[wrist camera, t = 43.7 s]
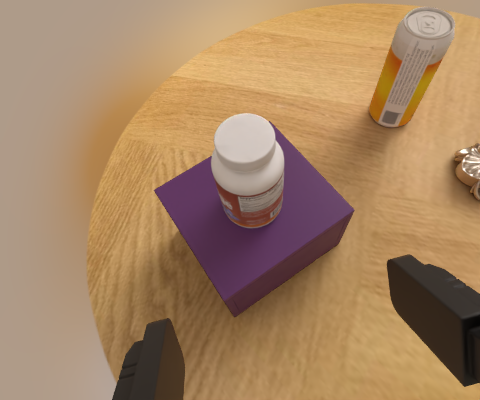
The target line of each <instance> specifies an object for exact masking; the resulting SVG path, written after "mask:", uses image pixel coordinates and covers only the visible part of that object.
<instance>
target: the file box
mask: <svg viewBox="0 0 480 400" xmlns="http://www.w3.org/2000/svg"><path fill="white" fill-rule="evenodd" d="M352 215H353V214H351V215H350V216H349V217H347V218H346V219H344V220H343V221H341V222H340V223H339V224H337V225H336V226H334V227H333V228H331V229H330V230H328V231H327V232H326V233H324V234H323V235H321V236H320V237H318V238H317V239H316V240H314V241H313V242H311V243H310V244H308V245H307V246H305V247H304V248H303V249H301V250H300V251H298V252H297V253H295V254H294V255H293V256H291V257H290V258H288V259H287V260H285V261H284V262H283V263H281V264H280V265H278V266H277V267H275V268H274V269H272V270H271V271H270V272H268V273H267V274H265V275H264V276H262V277H261V278H260V279H258V280H257V281H255V282H254V283H252V284H251V285H249V286H248V287H247V288H245V289H244V290H242V291H241V292H239V293H238V294H237V295H235V296H234V297H232V298H231V299H229V300H228V301H226V302H225V304H226V305H227V307H228V308H229V310H230V311H231V313H232V314H233V316H234V317H236V316H237V315H239V314H240V313H242V312H243V311H244V310H246V309H247V308H249V307H250V306H251V305H253V304H254V303H256V302H257V301H259V300H260V299H261V298H263V297H264V296H266V295H267V294H268V293H270V292H271V291H273V290H274V289H275V288H277V287H278V286H280V285H281V284H282V283H284V282H285V281H287V280H288V279H289V278H291V277H292V276H294V275H295V274H297V273H298V272H299V271H301V270H302V269H304V268H305V267H306V266H308V265H309V264H311V263H312V262H313V261H315V260H316V259H318V258H319V257H320V256H322V255H323V254H325V253H326V252H327V251H329V250H330V249H332V248H333V247H335V246H336V245H337V244H339V242H340V240H341V238H342V236H343V234H344V231H345V229H346V227H347V225H348V223H349V221H350V219H351V217H352Z"/></svg>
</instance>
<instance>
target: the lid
mask: <svg viewBox="0 0 480 400" xmlns="http://www.w3.org/2000/svg"><path fill="white" fill-rule="evenodd" d="M269 123H270V124H271V126H272V127H273V129H274V132H275V140H276V141H277V142H278V144H279V145H280V147H281V149H282V151H283V155H284V184H283V202H282V207H281V210H280V212H279V214H278V215H277V217H276V218H275V219H274V220H273V221H272V222H270V223H269V224H267V225H265V226H262V227H259V228H245V227H241V226H239V225H237V224H235V223H234V222H232V221H231V220H230V219H229V217H228V216H227V215H226V213H225V211H224V209H223V206H222V202H221V199H220V196H219V193H218V190H217V186H216V183H215V180H214V176H213V173H212V168H211V158H212V156H210V157H209V158H207V159H205V160H204V161H202V162H200V163H199V164H197V165H195V166H194V167H192V168H190V169H189V170H187V171H185V172H184V173H182V174H180V175H179V176H177V177H175V178H173V179H172V180H170V181H168V182H167V183H165V184H163V185H162V186H160V187H158V188H157V189H155V190H154V191H155V193H156V194H157V196H158V198H159V199H160V201H161V202H162V204H163V206H164V207H165V209H166V210H167V212H168V213H169V215H170V217H171V218H172V220H173V221H174V223H175V225H176V226H177V228H178V229H179V231H180V232H181V234H182V236H183V237H184V239H185V240H186V242H187V244H188V245H189V247H190V248H191V250H192V252H193V253H194V255H195V256H196V258H197V259H198V261H199V263H200V264H201V266H202V267H203V269H204V271H205V272H206V274H207V275H208V277H209V278H210V280H211V282H212V283H213V285H214V286H215V288H216V290H217V291H218V293H219V294H220V296H221V297H222V299H223V301H224V302H226V301H228V300H229V299H231V298H232V297H234V296H235V295H237V294H238V293H239V292H241V291H242V290H244V289H245V288H247V287H248V286H249V285H251V284H252V283H254V282H255V281H257V280H258V279H260V278H261V277H262V276H264V275H265V274H267V273H268V272H270V271H271V270H272V269H274V268H275V267H277V266H278V265H280V264H281V263H283V262H284V261H285V260H287V259H288V258H290V257H291V256H293V255H294V254H295V253H297V252H298V251H300V250H301V249H303V248H304V247H305V246H307V245H308V244H310V243H311V242H313V241H314V240H316V239H317V238H318V237H320V236H321V235H323V234H324V233H326V232H327V231H328V230H330V229H331V228H333V227H334V226H336V225H337V224H339V223H340V222H341V221H343V220H344V219H346V218H347V217H349V216H350V215H351V214H353V212H354V209H353V208H352V207H351V206H350V205H349V204H348V203H347V202H346V201H345V199H344V198H343V197H342V196H341V195H340V194H339V193H338V192H337V191H336V190H335V189H334V188H333V187H332V186H331V185H330V184H329V183H328V182H327V181H326V180H325V179H324V177H323V176H322V175H321V174H320V173H319V172H318V171H317V170H316V169H315V168H314V167H313V166H312V165H311V164H310V163H309V162H308V161H307V160H306V159H305V158H304V157H303V155H302V154H301V153H300V152H299V151H298V150H297V149H296V148H295V147H294V146H293V145H292V144H291V143H290V142H289V141H288V140H287V139H286V138H285V137H284V136H283V134H282V133H281V132H280V131H279V130H278V129H277V128H276V127H275V126H274V125H273V124H272V123H271V122H270V121H269Z"/></svg>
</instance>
